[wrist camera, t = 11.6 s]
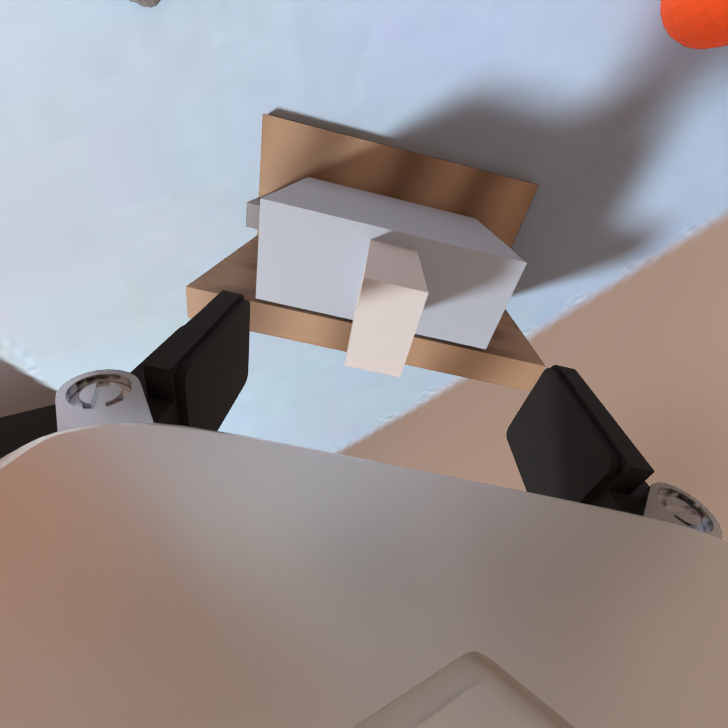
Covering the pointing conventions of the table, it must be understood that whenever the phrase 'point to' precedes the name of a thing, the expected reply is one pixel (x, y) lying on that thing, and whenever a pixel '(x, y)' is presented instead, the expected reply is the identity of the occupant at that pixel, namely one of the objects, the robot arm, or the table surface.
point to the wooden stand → (393, 179)
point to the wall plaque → (146, 2)
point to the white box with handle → (383, 269)
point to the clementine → (696, 22)
